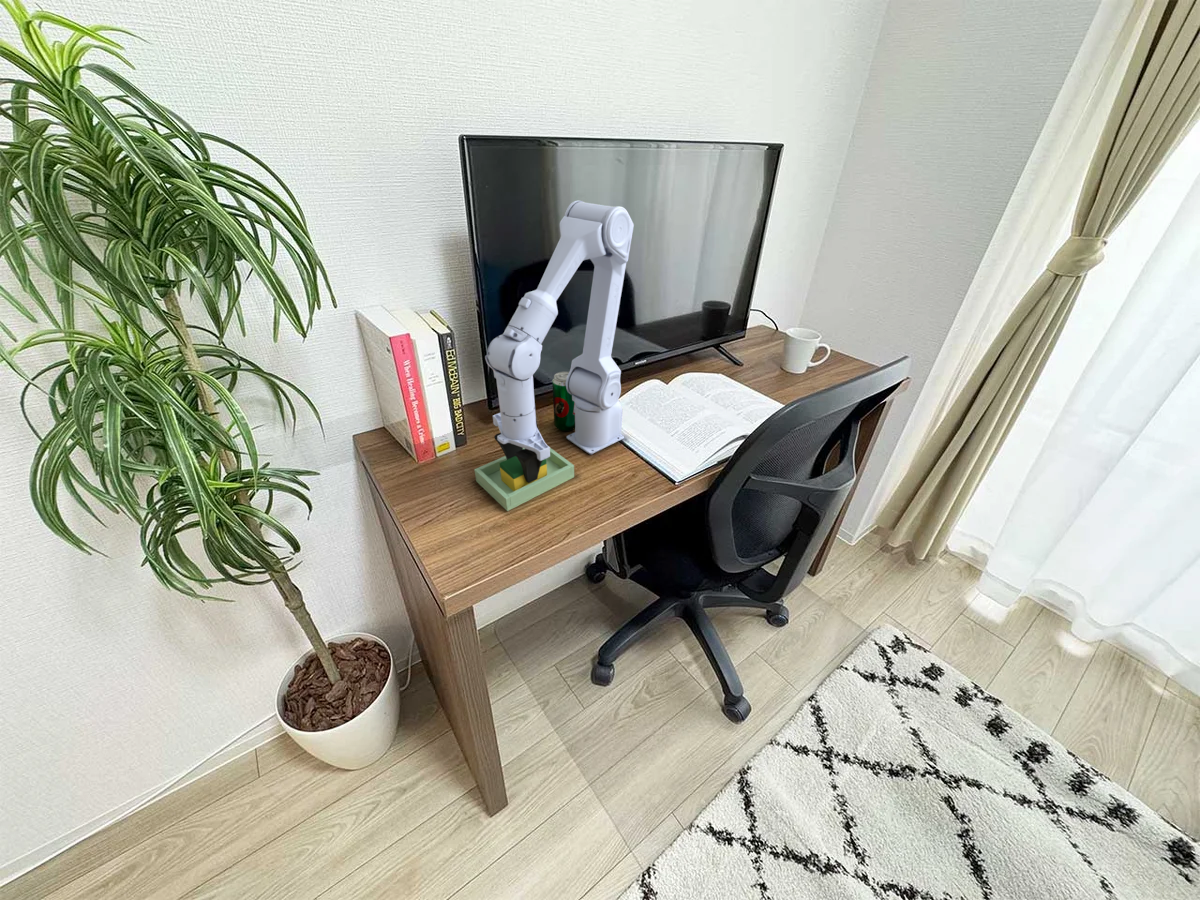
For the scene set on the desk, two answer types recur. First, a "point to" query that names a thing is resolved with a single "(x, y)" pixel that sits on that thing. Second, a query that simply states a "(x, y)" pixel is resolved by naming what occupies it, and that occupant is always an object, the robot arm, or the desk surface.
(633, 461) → the desk surface
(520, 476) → the sponge
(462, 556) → the desk surface
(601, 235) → the robot arm
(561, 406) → the soda can
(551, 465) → the tray
